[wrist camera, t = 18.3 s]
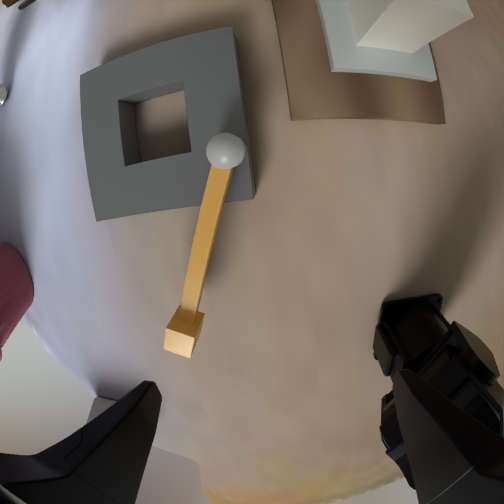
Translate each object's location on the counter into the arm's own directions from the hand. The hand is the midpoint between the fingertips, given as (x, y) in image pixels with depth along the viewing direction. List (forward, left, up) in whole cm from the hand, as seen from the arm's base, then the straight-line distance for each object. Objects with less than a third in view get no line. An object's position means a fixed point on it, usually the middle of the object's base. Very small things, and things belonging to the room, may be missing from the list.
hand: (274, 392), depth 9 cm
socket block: (+7, -11, -13) cm, 18 cm away
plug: (-8, -16, -12) cm, 21 cm away
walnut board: (-8, -16, -13) cm, 22 cm away
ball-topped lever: (+4, -2, -10) cm, 11 cm away
